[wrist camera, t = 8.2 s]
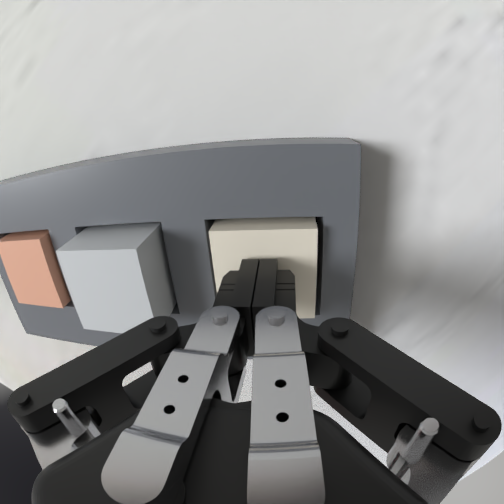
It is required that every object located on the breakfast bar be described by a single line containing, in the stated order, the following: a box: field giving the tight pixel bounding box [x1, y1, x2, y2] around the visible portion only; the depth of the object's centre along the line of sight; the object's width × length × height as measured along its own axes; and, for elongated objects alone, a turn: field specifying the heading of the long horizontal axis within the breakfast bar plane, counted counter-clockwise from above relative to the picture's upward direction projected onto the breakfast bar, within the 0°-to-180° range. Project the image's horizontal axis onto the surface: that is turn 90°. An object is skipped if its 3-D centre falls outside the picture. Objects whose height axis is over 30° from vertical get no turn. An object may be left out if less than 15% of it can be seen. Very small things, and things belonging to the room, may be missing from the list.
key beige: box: [209, 217, 318, 319], centre depth 15 cm, size 4×4×3 cm
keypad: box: [0, 138, 361, 359], centre depth 16 cm, size 22×11×2 cm, turn 94°
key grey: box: [56, 222, 177, 333], centre depth 14 cm, size 4×4×3 cm
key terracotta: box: [0, 229, 71, 308], centre depth 17 cm, size 4×4×3 cm
